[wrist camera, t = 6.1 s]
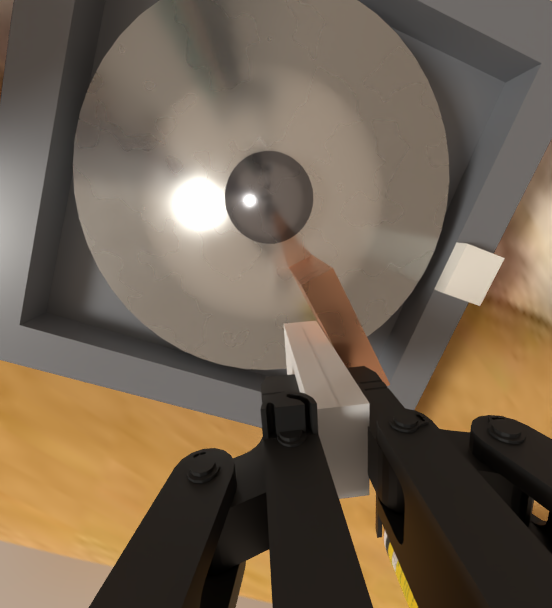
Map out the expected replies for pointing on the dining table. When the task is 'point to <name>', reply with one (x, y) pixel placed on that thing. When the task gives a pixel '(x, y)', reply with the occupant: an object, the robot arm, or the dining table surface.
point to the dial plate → (148, 345)
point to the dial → (261, 175)
